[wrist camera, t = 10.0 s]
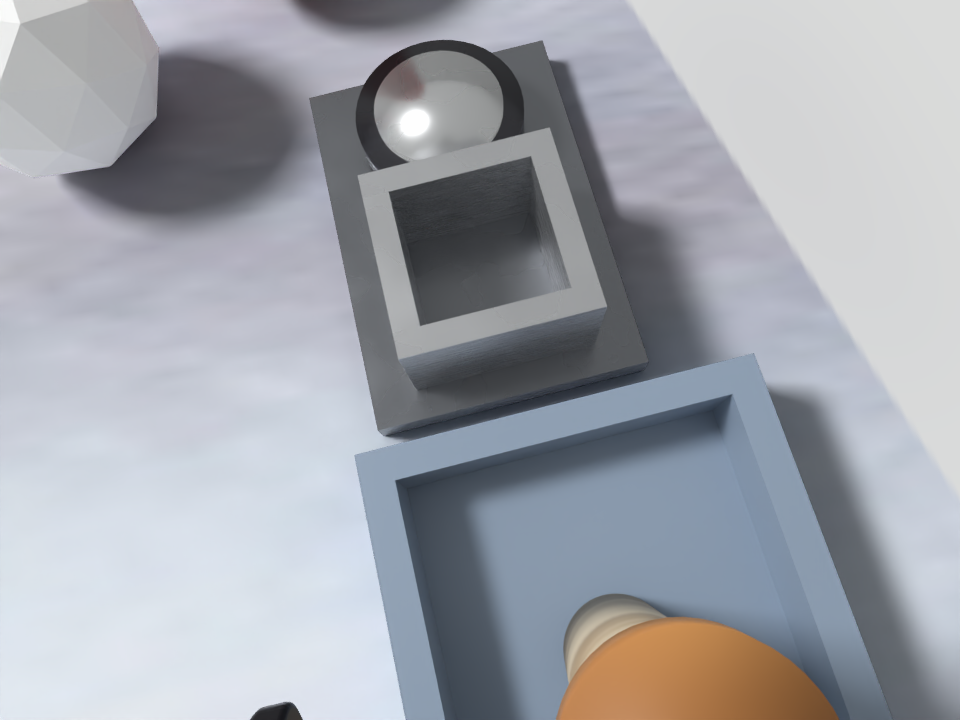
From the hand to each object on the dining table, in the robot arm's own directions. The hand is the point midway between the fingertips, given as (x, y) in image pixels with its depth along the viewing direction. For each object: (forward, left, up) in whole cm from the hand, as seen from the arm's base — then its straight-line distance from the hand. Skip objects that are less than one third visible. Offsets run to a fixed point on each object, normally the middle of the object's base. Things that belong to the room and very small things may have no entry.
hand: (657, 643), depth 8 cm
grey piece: (+13, 0, -14) cm, 19 cm away
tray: (-2, -1, -14) cm, 14 cm away
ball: (+21, +13, -14) cm, 29 cm away
